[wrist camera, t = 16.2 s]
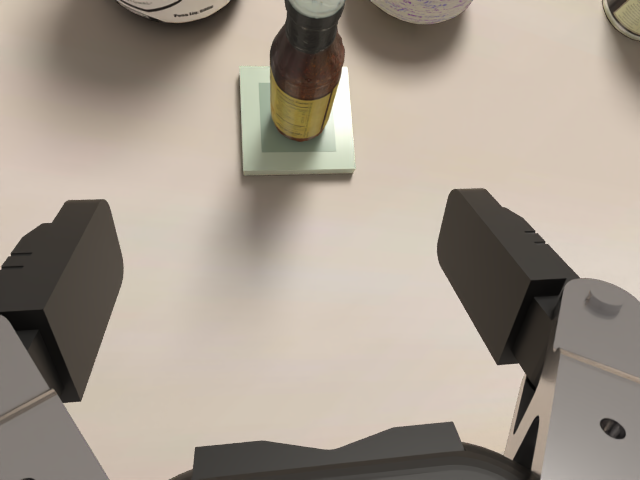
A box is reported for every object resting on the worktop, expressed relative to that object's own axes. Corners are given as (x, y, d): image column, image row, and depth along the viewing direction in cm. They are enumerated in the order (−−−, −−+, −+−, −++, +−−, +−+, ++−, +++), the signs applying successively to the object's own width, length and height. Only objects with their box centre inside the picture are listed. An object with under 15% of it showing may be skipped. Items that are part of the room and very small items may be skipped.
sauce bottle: (300, 80, 50) (324, -74, 31) (339, 121, 50) (388, -9, 30) (255, 116, 49) (251, -23, 29) (295, 158, 48) (317, 46, 29)
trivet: (243, 175, 49) (243, 170, 47) (240, 73, 51) (239, 65, 49) (352, 173, 50) (355, 168, 49) (345, 74, 53) (347, 66, 51)
